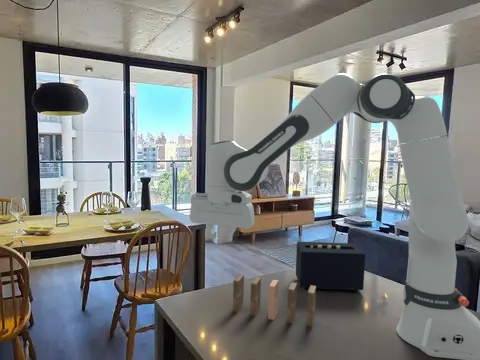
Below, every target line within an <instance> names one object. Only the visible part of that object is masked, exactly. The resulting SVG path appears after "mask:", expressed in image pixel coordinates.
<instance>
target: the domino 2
mask: <svg viewBox="0 0 480 360" xmlns="http://www.w3.org/2000/svg"><path fill="white" fill-rule="evenodd" d="M261 292H262V277H260V276H256V277H255V278H254V279H253V280H252V281H251V283H250V304H249V305H250V308H249V309H250V310H249V311H250V313H249V315H250V317H251V316H252V317H256V316H257V314H258V313H259V312H260V309H261Z"/></svg>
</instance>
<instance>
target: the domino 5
mask: <svg viewBox="0 0 480 360" xmlns="http://www.w3.org/2000/svg"><path fill="white" fill-rule="evenodd" d="M316 293H317V288H316V286H312V285H310V288H309V290H307V304H306V327H308V328H313V326H314V322H315V316H316V315H315V314H316V311H315V310H316V295H317V294H316Z"/></svg>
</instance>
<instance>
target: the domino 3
mask: <svg viewBox="0 0 480 360" xmlns="http://www.w3.org/2000/svg"><path fill="white" fill-rule="evenodd" d="M268 289H269V290H268V310H267V311H268V316H267V317H268V318H267V319H268V320H272V321H273V320H274V321H275V317H276V316H277V313H278V312H279V311H278V307H279V279H273V280H272V281H271V282H270V284H269V285H268Z"/></svg>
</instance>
